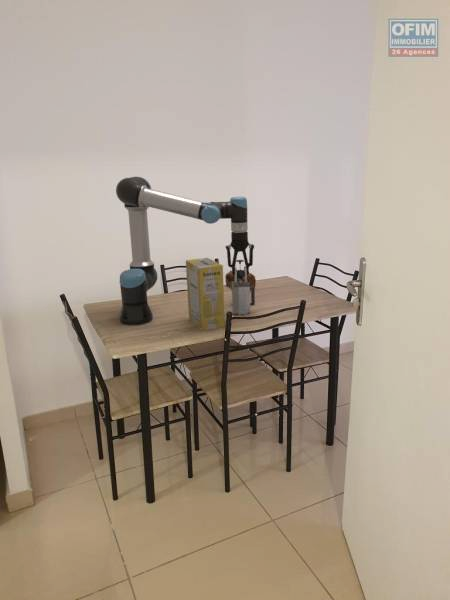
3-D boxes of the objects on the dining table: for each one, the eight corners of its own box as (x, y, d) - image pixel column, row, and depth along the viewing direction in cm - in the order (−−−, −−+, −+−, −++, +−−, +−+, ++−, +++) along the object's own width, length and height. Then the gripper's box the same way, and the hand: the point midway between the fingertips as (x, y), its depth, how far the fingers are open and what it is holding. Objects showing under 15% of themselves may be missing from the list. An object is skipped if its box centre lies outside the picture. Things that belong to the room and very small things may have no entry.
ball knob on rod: (237, 301, 221) (236, 270, 216) (236, 298, 224) (235, 269, 220) (245, 300, 221) (245, 270, 217) (244, 298, 225) (243, 268, 220)
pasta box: (189, 318, 219) (185, 260, 211) (209, 315, 223) (207, 257, 215) (202, 330, 203) (199, 268, 195) (224, 326, 207) (222, 265, 199)
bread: (256, 290, 262) (256, 273, 259) (239, 293, 258) (239, 275, 255) (240, 283, 278) (240, 266, 275) (224, 285, 274) (224, 269, 271)
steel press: (234, 316, 220) (233, 285, 216) (231, 310, 228) (230, 281, 224) (256, 314, 221) (255, 284, 217) (252, 309, 229) (252, 279, 225)
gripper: (222, 233, 208) (223, 284, 215) (259, 231, 211) (259, 281, 217) (220, 231, 216) (221, 280, 222) (256, 229, 218) (256, 277, 224)
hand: (240, 280), depth 220 cm, fingers closed on ball knob on rod, 4 cm apart
